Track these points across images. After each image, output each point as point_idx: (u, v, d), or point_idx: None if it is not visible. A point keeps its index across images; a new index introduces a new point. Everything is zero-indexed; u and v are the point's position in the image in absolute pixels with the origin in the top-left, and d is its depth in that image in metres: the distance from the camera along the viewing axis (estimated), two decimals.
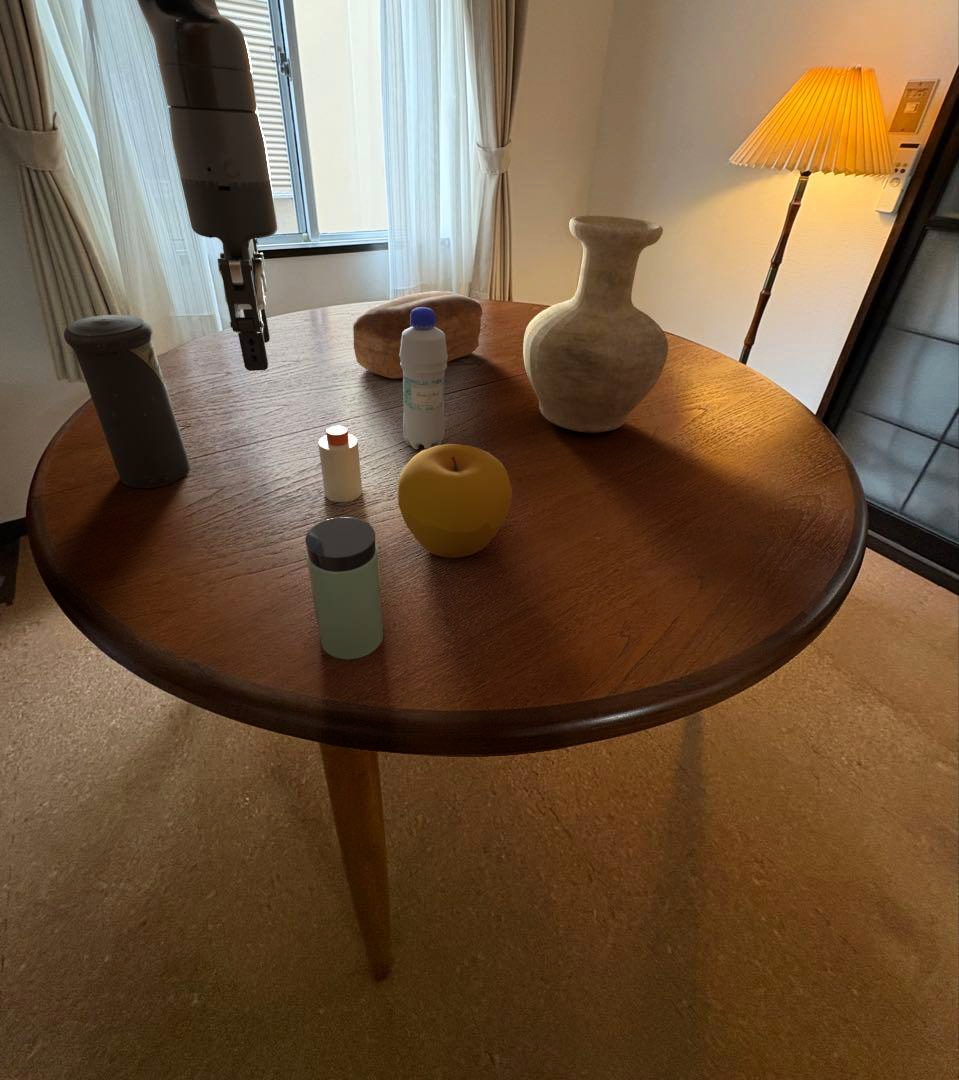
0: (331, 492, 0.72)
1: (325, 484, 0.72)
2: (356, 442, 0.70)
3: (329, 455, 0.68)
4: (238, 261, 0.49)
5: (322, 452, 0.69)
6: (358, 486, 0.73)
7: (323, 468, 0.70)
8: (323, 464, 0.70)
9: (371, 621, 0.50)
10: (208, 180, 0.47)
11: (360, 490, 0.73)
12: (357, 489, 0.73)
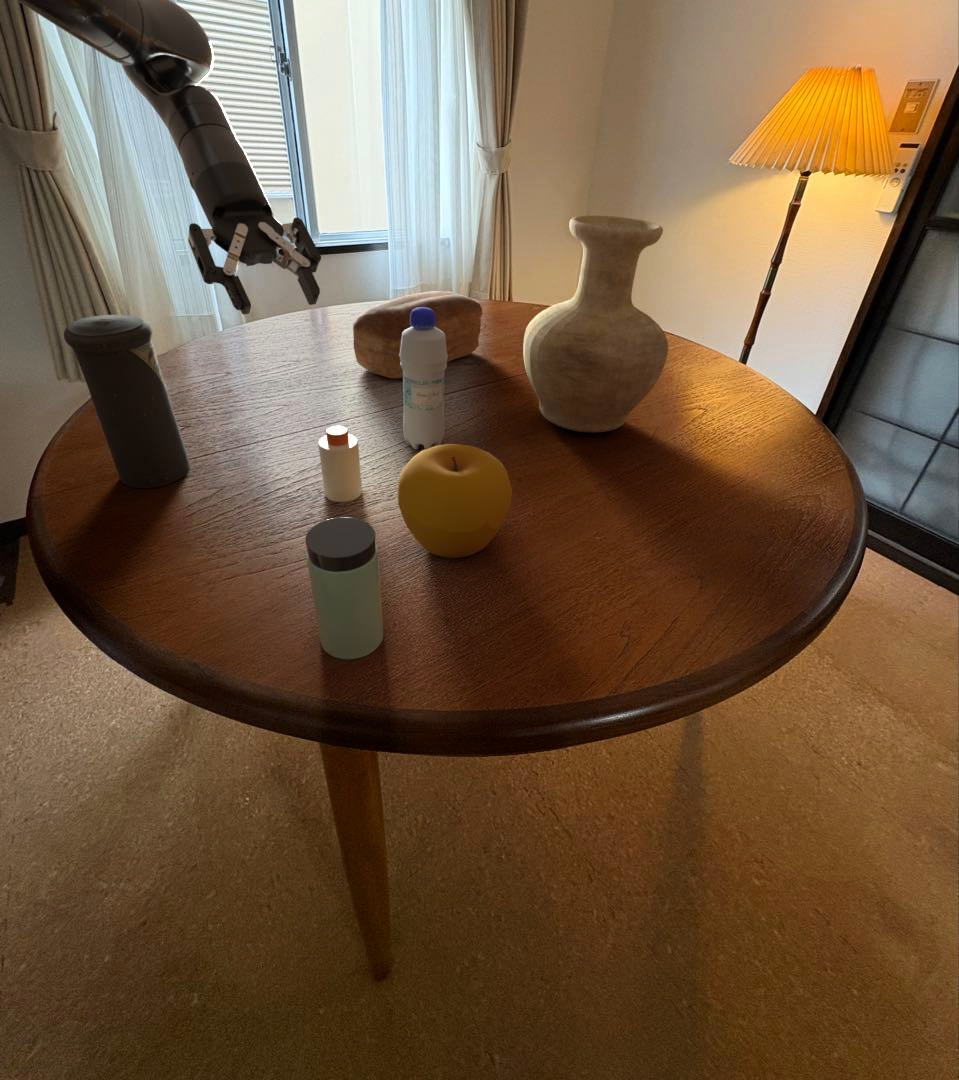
0: (331, 492, 0.72)
1: (325, 484, 0.72)
2: (356, 442, 0.70)
3: (329, 455, 0.68)
4: None
5: (322, 452, 0.69)
6: (358, 486, 0.73)
7: (323, 468, 0.70)
8: (323, 464, 0.70)
9: (371, 621, 0.50)
10: None
11: (360, 490, 0.73)
12: (357, 489, 0.73)
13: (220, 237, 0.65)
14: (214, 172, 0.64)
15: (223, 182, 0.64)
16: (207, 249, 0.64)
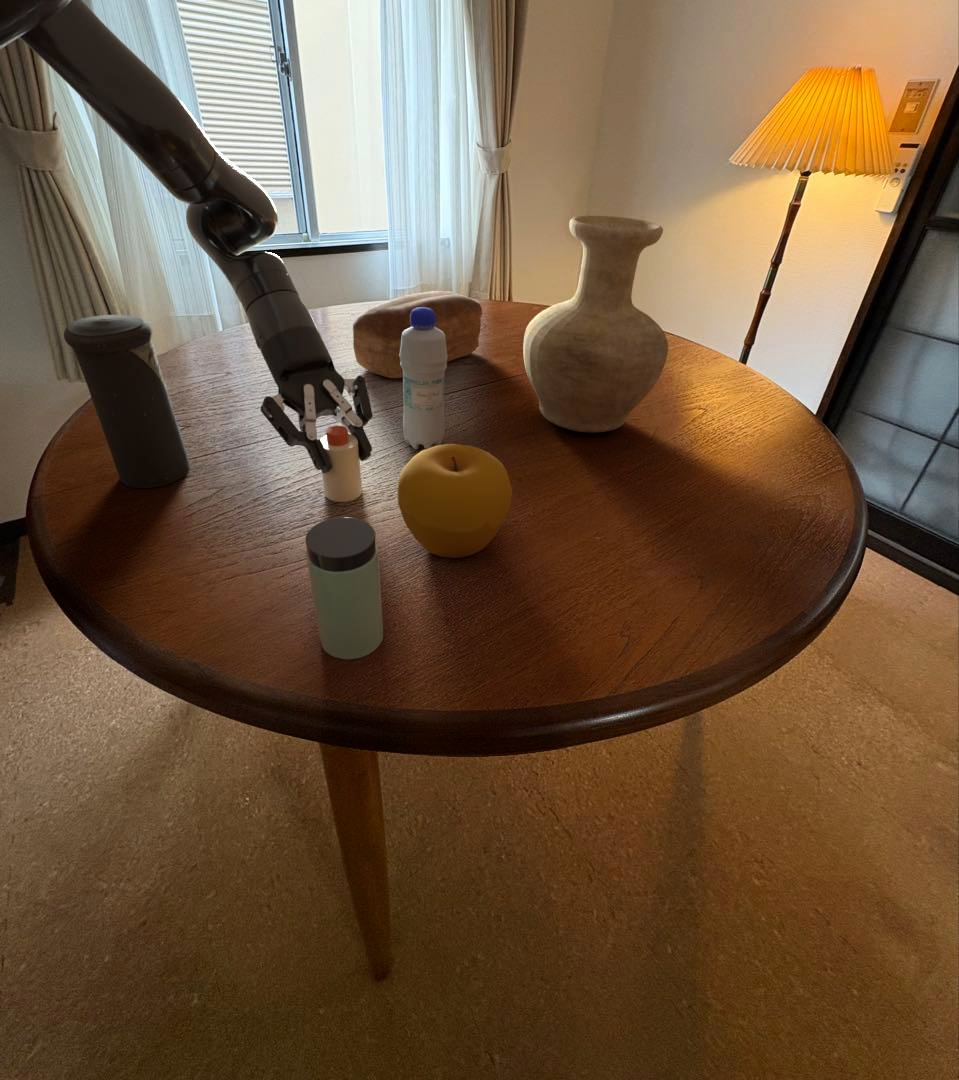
0: (331, 492, 0.72)
1: (325, 484, 0.72)
2: (356, 442, 0.70)
3: (329, 455, 0.68)
4: None
5: None
6: (358, 486, 0.73)
7: None
8: None
9: (371, 621, 0.50)
10: None
11: (360, 490, 0.73)
12: (357, 488, 0.73)
13: (287, 398, 0.67)
14: (282, 338, 0.66)
15: (291, 348, 0.66)
16: (286, 418, 0.66)
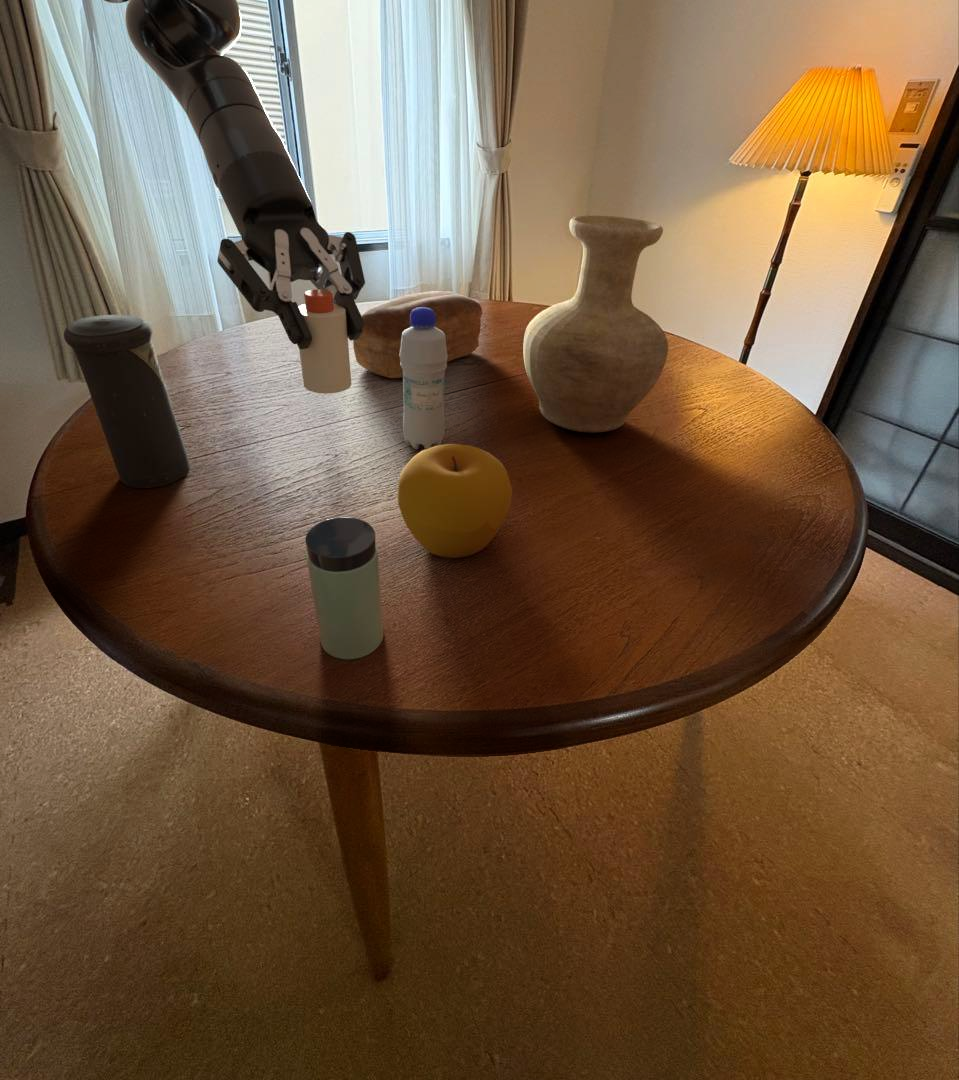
0: (311, 380, 0.56)
1: (303, 369, 0.56)
2: (343, 311, 0.54)
3: (308, 324, 0.52)
4: None
5: None
6: (346, 373, 0.57)
7: None
8: None
9: (371, 621, 0.50)
10: None
11: (348, 381, 0.57)
12: (345, 377, 0.57)
13: (253, 246, 0.51)
14: (246, 164, 0.50)
15: (258, 177, 0.50)
16: (251, 269, 0.50)
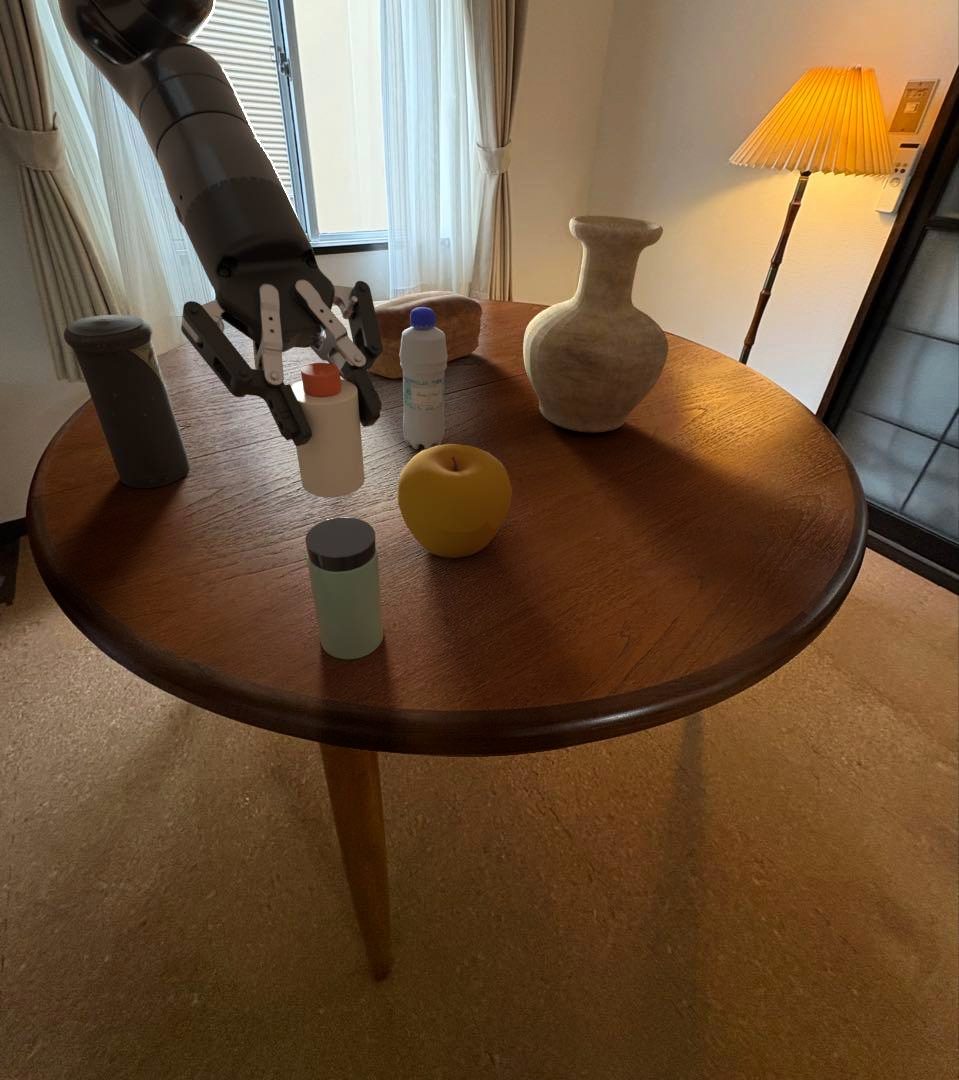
0: (312, 480, 0.42)
1: (301, 466, 0.41)
2: (355, 392, 0.40)
3: (307, 413, 0.38)
4: None
5: None
6: (359, 470, 0.42)
7: None
8: None
9: (371, 621, 0.50)
10: None
11: (361, 478, 0.43)
12: (357, 474, 0.42)
13: (230, 309, 0.37)
14: (220, 196, 0.36)
15: (236, 214, 0.36)
16: (227, 342, 0.36)
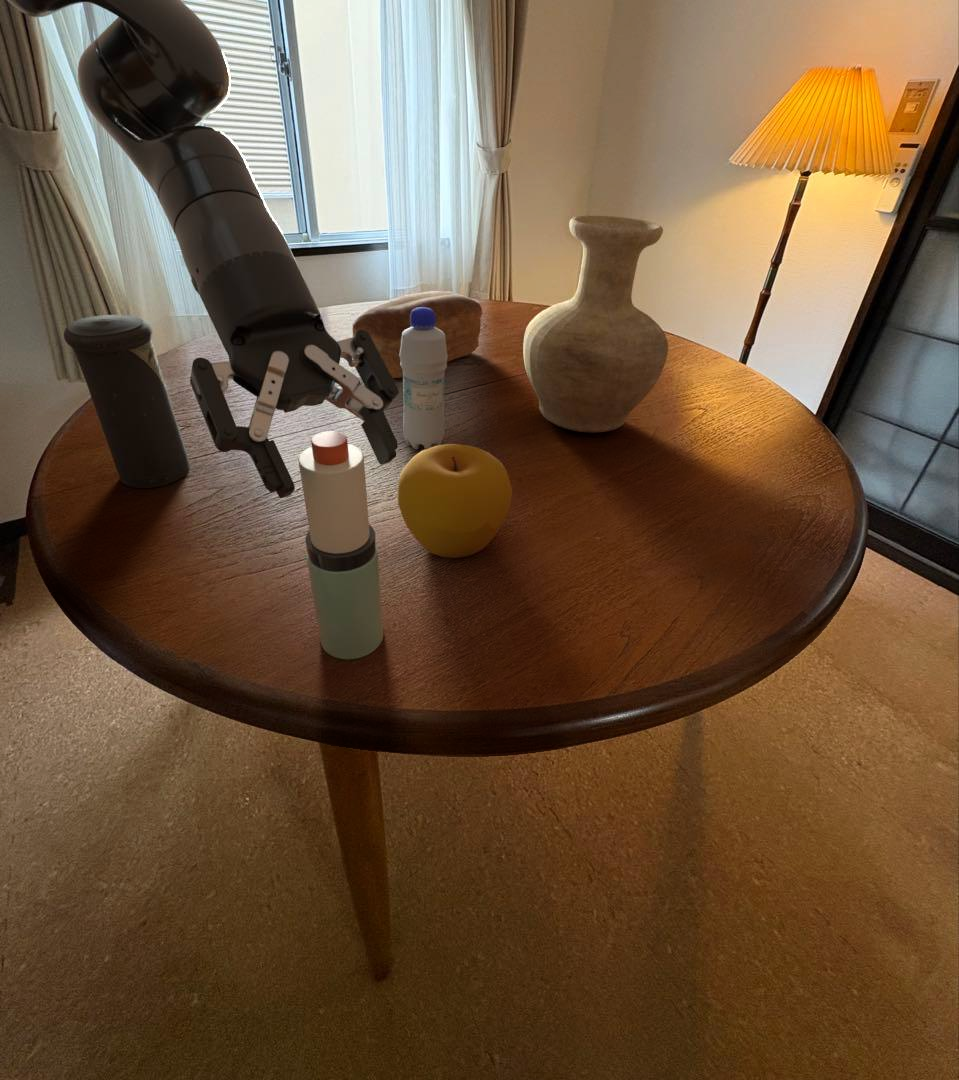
0: (320, 539, 0.44)
1: (310, 525, 0.44)
2: (361, 458, 0.42)
3: (317, 481, 0.41)
4: None
5: (304, 475, 0.41)
6: (364, 527, 0.45)
7: (307, 500, 0.43)
8: (306, 494, 0.42)
9: (371, 621, 0.50)
10: None
11: (366, 534, 0.46)
12: (362, 532, 0.45)
13: (243, 375, 0.39)
14: (234, 271, 0.38)
15: (249, 287, 0.38)
16: (223, 400, 0.38)
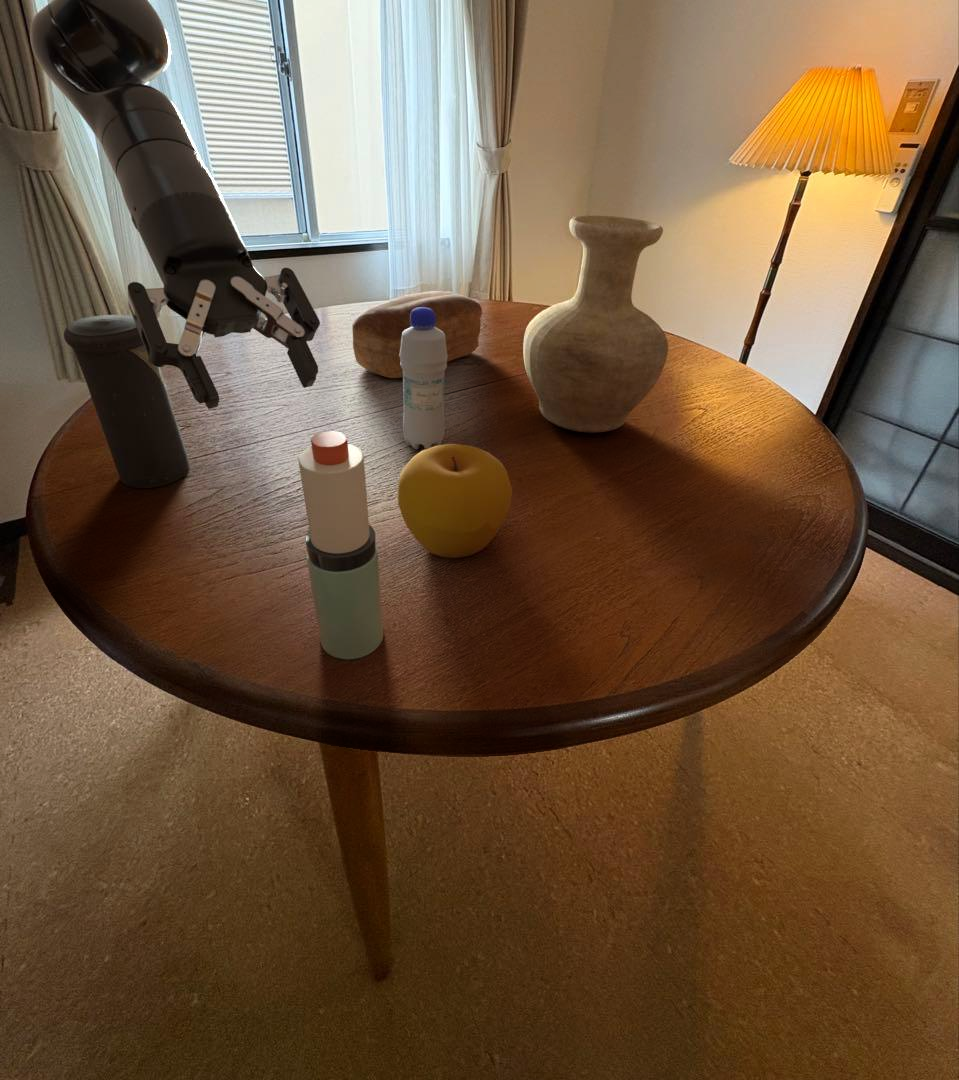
0: (320, 539, 0.44)
1: (310, 525, 0.44)
2: (361, 458, 0.42)
3: (317, 481, 0.41)
4: None
5: (304, 475, 0.41)
6: (364, 527, 0.45)
7: (307, 500, 0.43)
8: (306, 494, 0.42)
9: (371, 621, 0.50)
10: None
11: (366, 534, 0.46)
12: (362, 532, 0.45)
13: (175, 300, 0.45)
14: (165, 208, 0.44)
15: (178, 222, 0.44)
16: (154, 319, 0.44)
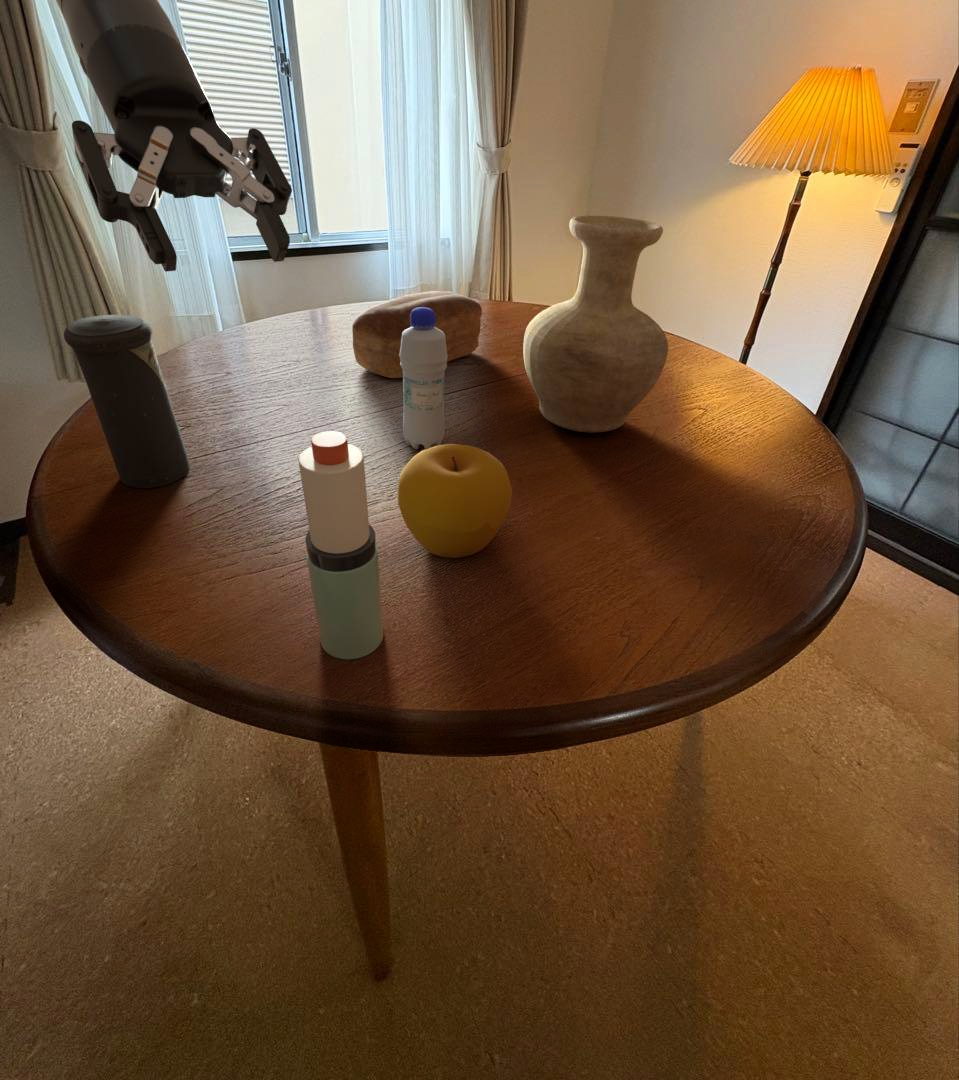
0: (320, 539, 0.44)
1: (310, 525, 0.44)
2: (361, 458, 0.42)
3: (317, 481, 0.41)
4: None
5: (304, 475, 0.41)
6: (364, 527, 0.45)
7: (307, 500, 0.43)
8: (306, 494, 0.42)
9: (371, 621, 0.50)
10: None
11: (366, 534, 0.46)
12: (362, 532, 0.45)
13: (127, 147, 0.41)
14: (115, 40, 0.40)
15: (129, 56, 0.40)
16: (102, 163, 0.39)
